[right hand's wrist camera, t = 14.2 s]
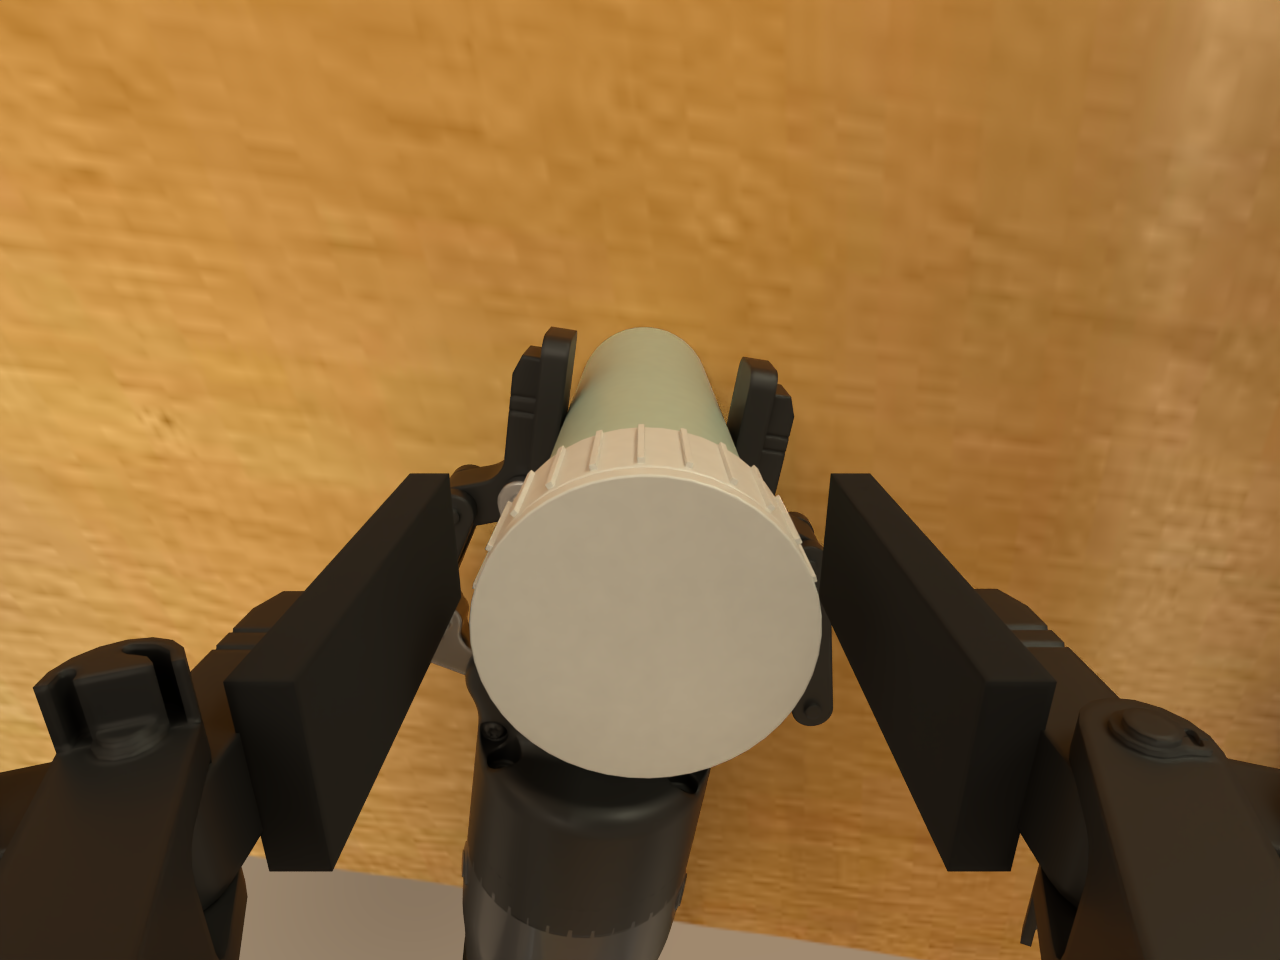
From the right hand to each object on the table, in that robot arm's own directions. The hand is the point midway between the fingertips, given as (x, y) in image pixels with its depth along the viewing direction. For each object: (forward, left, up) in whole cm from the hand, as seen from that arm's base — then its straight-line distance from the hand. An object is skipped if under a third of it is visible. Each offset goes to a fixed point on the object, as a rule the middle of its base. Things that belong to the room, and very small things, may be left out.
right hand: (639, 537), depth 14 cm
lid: (0, 0, +3) cm, 3 cm away
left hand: (0, -3, -6) cm, 6 cm away
